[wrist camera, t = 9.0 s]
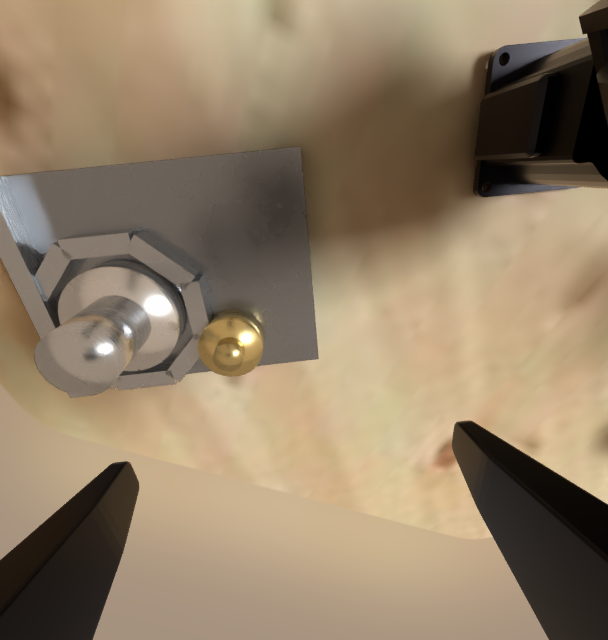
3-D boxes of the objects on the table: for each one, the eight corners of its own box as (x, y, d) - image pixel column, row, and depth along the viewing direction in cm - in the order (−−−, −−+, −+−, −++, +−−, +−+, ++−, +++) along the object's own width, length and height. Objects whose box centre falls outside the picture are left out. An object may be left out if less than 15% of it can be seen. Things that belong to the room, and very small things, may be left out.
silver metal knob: (170, 255, 17) (125, 289, 12) (196, 351, 20) (167, 412, 15) (56, 266, 17) (-35, 306, 12) (97, 362, 20) (35, 427, 15)
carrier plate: (299, 147, 16) (304, 142, 13) (316, 350, 22) (323, 382, 18) (0, 177, 16) (-68, 179, 13) (89, 376, 21) (56, 412, 18)
